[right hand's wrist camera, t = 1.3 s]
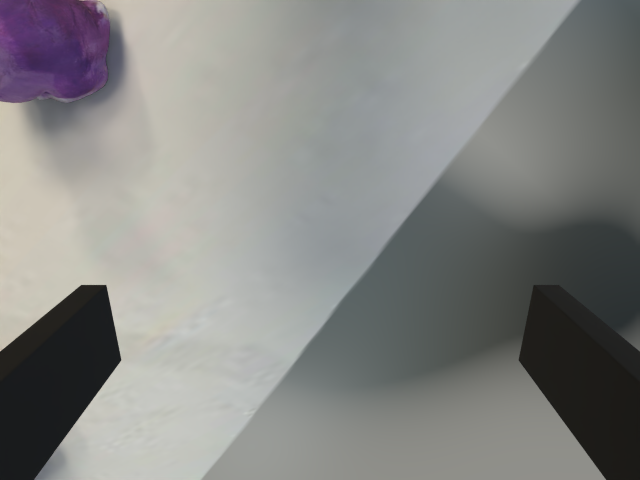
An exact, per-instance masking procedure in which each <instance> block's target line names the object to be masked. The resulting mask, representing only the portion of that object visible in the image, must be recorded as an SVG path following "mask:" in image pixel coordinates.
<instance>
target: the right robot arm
mask: <svg viewBox="0 0 640 480" xmlns="http://www.w3.org/2000/svg"><path fill="white" fill-rule="evenodd" d="M120 361H121V356H120V351H119V346H118V341H117V336H116V331H115V326H114V321H113V316H112V311H111V306H110V301H109V296H108V291H107V286H106V285H81V286H80V287H78V288H77V289H76V290H75V291H73V292H72V293H71V294H70V295H69V296H67V297H66V298H65V299H64V300H63V301H61V302H60V303H59V304H58V305H56V306H55V307H54V308H53V309H52V310H50V311H49V312H48V313H47V314H45V315H44V316H43V317H42V318H41V319H39V320H38V321H37V322H36V323H35V324H33V325H32V326H31V327H30V328H28V329H27V330H26V331H25V332H24V333H22V334H21V335H20V336H19V337H17V338H16V339H15V340H14V341H13V342H11V343H10V344H9V345H8V346H7V347H5V348H4V349H3V350H2V351H0V480H34V479H35V477H36V476H37V475H38V473H39V472H40V471H41V469H42V468H43V466H44V465H45V464H46V462H47V461H48V460H49V458H50V457H51V456H52V454H53V453H54V451H55V450H56V449H57V447H58V446H59V445H60V443H61V442H62V440H63V439H64V438H65V436H66V435H67V434H68V432H69V431H70V430H71V428H72V427H73V425H74V424H75V423H76V421H77V420H78V419H79V417H80V416H81V415H82V413H83V412H84V410H85V409H86V408H87V406H88V405H89V404H90V402H91V401H92V400H93V398H94V397H95V395H96V394H97V393H98V391H99V390H100V389H101V387H102V386H103V385H104V383H105V382H106V380H107V379H108V378H109V376H110V375H111V374H112V372H113V371H114V370H115V368H116V367H117V365H118V364H119V363H120ZM519 361H520V363H521V364H522V365H523V367H524V368H525V369H526V371H527V372H528V374H529V375H530V376H531V378H532V379H533V380H534V382H535V383H536V385H537V386H538V387H539V389H540V390H541V391H542V393H543V394H544V395H545V397H546V398H547V400H548V401H549V402H550V404H551V405H552V406H553V408H554V409H555V410H556V412H557V413H558V415H559V416H560V417H561V419H562V420H563V421H564V423H565V424H566V425H567V427H568V428H569V430H570V431H571V432H572V434H573V435H574V436H575V438H576V439H577V440H578V442H579V443H580V445H581V446H582V447H583V449H584V450H585V451H586V453H587V454H588V456H589V457H590V458H591V460H592V461H593V462H594V464H595V465H596V466H597V468H598V469H599V471H600V472H601V473H602V475H603V476H604V477H605V479H606V480H640V351H638V350H637V349H636V348H635V347H633V346H632V345H631V344H630V343H629V342H627V341H626V340H625V339H624V338H623V337H621V336H620V335H619V334H618V333H616V332H615V331H614V330H613V329H612V328H610V327H609V326H608V325H607V324H605V323H604V322H603V321H602V320H601V319H599V318H598V317H597V316H596V315H594V314H593V313H592V312H591V311H590V310H588V309H587V308H586V307H585V306H584V305H582V304H581V303H580V302H579V301H577V300H576V299H575V298H574V297H573V296H571V295H570V294H569V293H568V292H566V291H565V290H564V289H563V288H562V287H560V286H559V285H534V287H533V291H532V296H531V301H530V306H529V311H528V316H527V321H526V326H525V331H524V336H523V341H522V346H521V351H520V356H519Z"/></svg>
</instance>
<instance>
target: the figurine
mask: <svg viewBox="0 0 640 480" xmlns="http://www.w3.org/2000/svg"><path fill="white" fill-rule="evenodd" d="M109 33H110V20H109V15H108V12H107V9H106V7H105V5H104V4H103V3H102V2H100V1H95V0H86V1H80V0H0V101H2V102H10V103H21V102H26V101H30V100H33V99H35V98H36V99H39V100H43V99H49V98H53V99H55V100H57V101H60V102H65V103H69V102H72V101H75V100H78V99H81V98H83V97H85V96H88V95H91V94H92V93H94V92H96V91H98V90H100V89H101V88H102V87H104V85H105V83H106V81H107V80H108V69H107V65H106V54H107V51H108V47H109Z"/></svg>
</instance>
